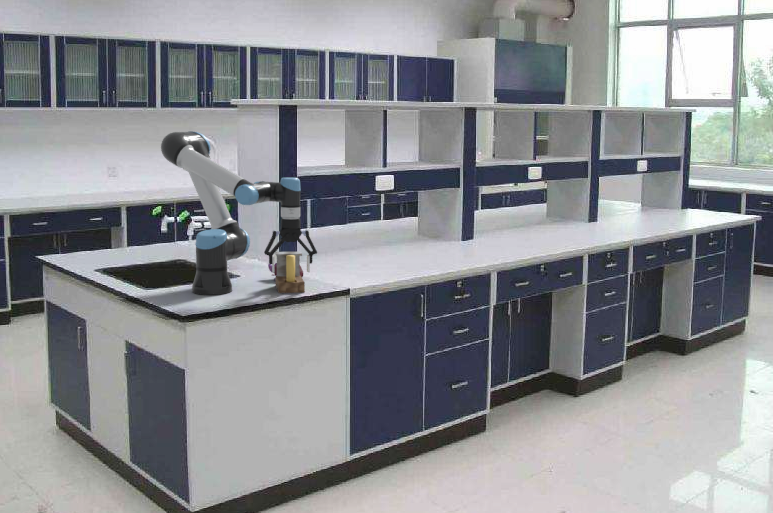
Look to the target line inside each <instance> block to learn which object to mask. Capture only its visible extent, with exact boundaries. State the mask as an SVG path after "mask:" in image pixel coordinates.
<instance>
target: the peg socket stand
mask: <svg viewBox="0 0 773 513" xmlns="http://www.w3.org/2000/svg"><path fill="white" fill-rule="evenodd" d="M274 254H275V256H276V263H277V276H275V277H276V279H275V287H276V290H277V292H278V294H294V293H295V294H296V293H299V294H300V293H305V285H306V284H305V280H304V279H303V277H301V275H300V266H301V265H300V263H301V262H300V257H302V256H303V253H302V251H276V252H275V253H274ZM287 255H295V282H286V256H287Z"/></svg>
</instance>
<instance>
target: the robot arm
mask: <svg viewBox="0 0 773 513" xmlns="http://www.w3.org/2000/svg"><path fill="white" fill-rule="evenodd" d="M160 151H161V153H162V155H163V157H164V158H165V159H166V160H167V162H170V163H171V164H172V165H174V166H176V167H177V168H179V169H182V170H183V171H185V172H187V173H188V174H189V176H190V179H191V181H192V183H193V186H194V188H195V191H196V194H197V195H198V197H199V200H200V203H201V205H202V208H203V210H204V212H205V215H206V218H207V220H208V221H209V224H210V226H211V228H210V229H205V230H202V231H199V232H198V233H197V234H196V236H195V258H196V259H195V260H196V262H195V264H196V265H195V267H196V272H195V276H194V280H193V282H192V285H191V286H192V288H191V289H192V290H191V291H192V293H193V294H196V295H202V296H203V295H204V296H205V295H206V296H214V295H215V296H216V295H217V296H218V295H224V294H229V293H231V292H232V291H233V284H232V281H231V279H230V276H229V273H228V272H229V271H228V261H230V260H231V261H232V260H234V259H235V260H236V259H237V260H238V258H241V257H243V256H245V255H246V254H247V253H248V251H249V248H250V245H251V239H250V236H249V234H248V232H247V231H246V229H245V230H244V229H243V228H241V227H240V225H239V223H238V221H237V220H234V218H232V215H231V214H230V212H229V210H228V207H227V205H226V202H225V200H224V197H223V195H222V192H221V191H220V190H223V191H224V192H226V193H228V194H230V195H231V196H232V197H233V196H234V197H235V200H236V201H237V202H238V204H240V205H242V206H252V205H254V204H261V203H266V202H275V203H276V202H277V203H280V217H281V219H280V230H276V229H273V230H272V235H271V237H270V239H269V241H268V243H267V244H266V248H265V249H264V255H266V256H268V264H271V265H272V272H271V273H272V274H274V265H275V255H274V254H275V252H278V250H279V248H280V247H281V246H282V245H283V244H284V243H285V242H286V243H295V242H298V244H300V245H301V247H302V248H303V249H304V250H305V252H307V253H308V254H306V272H307V273H310V271H311V270H310V268H311V267H310V265H312V264H313V257H314V255H316V254H318V251H317V249H316V247H315V245H314V243H313V240H312V238H311V237H310V232H309V230H308V229H305V230H302V229H301V218H300V217H301V180H300V179H299V178H298V177H281V179H280V182H275V181H263V180H262V181H261V180H260V181H255V182H254V183H252V182H251V181H249V180H247V179H245V178H244V177H242V176H240V175H238V174H237V173H235V172H233V171H231V170H229V169H227V167H225V166H223V165H220V164H219V163H218V162H216V161H214V160H212V159H211V156H210V154H211V152H210V151H211V144H210V141H209V139H208V137H206V136H205V135H204V134H203V133H200V132H197V131H174V132H170V133H168V134H167V135H166V136H164V137H163V139H162V141H161V144H160ZM279 235H280V236H281V238H280V239H279V241H278V242H277V243H276V244H275V245H274V247H273V248H272V246H273V244H274V242H275V240H276V238H277V237H278V236H279ZM302 235H303V236H304V237H305V238H306V240H307V242H308V244H309V246H310V248H311V250H310V249H309V247H307V245H306V244H305V243H304V242H303V240H302V239H301V236H302Z"/></svg>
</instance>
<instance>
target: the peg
mask: <svg viewBox="0 0 773 513" xmlns="http://www.w3.org/2000/svg"><path fill="white" fill-rule="evenodd" d="M286 282H295V255H287V256H286Z"/></svg>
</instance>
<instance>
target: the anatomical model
mask: <svg viewBox="0 0 773 513" xmlns="http://www.w3.org/2000/svg"><path fill="white" fill-rule="evenodd" d="M267 268H268V269H269V270H268V271H269V272H270V273H272V264H269V263H268V265H267ZM302 268H303V267H302V266H301V265H300V275H301V277H302V278H303V277H304V271H303V269H302ZM271 276H273V277H274V280H276V276H277V262H274V273H272V274H271Z"/></svg>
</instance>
